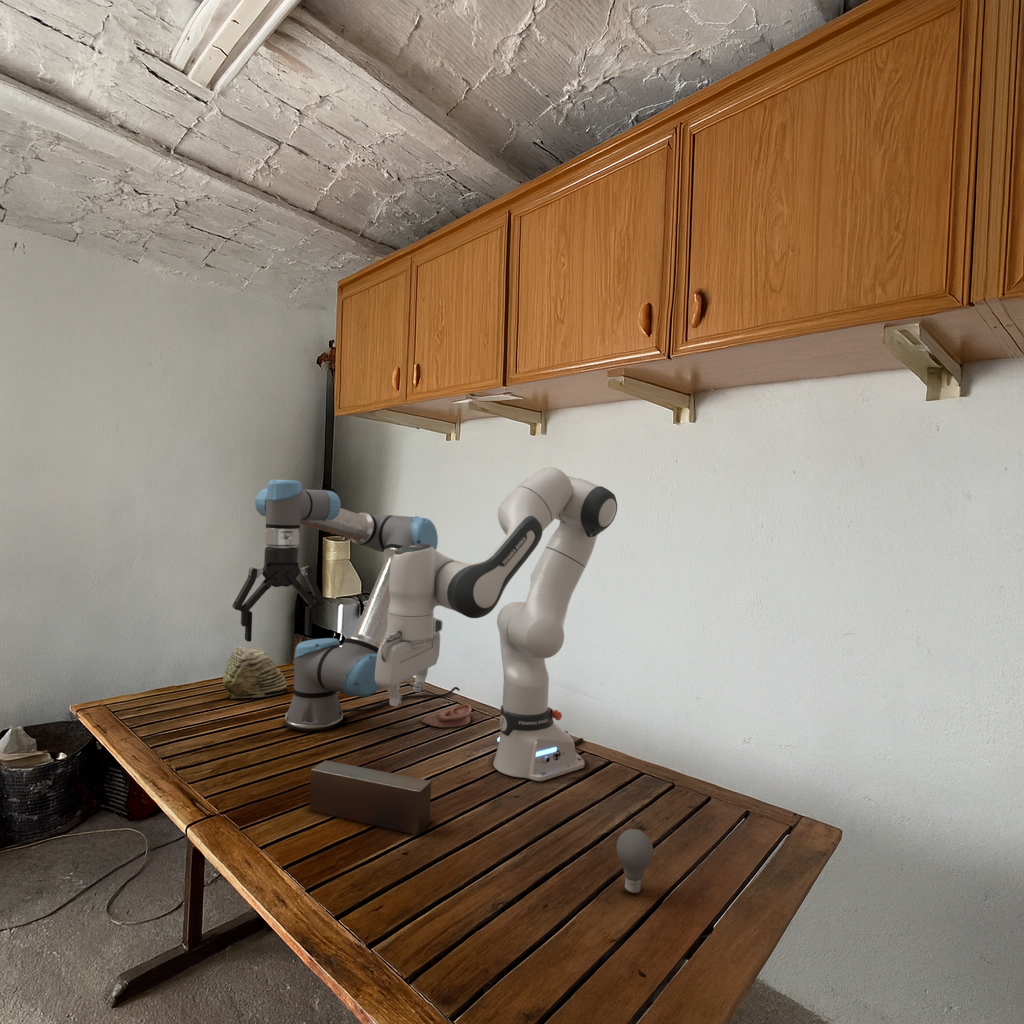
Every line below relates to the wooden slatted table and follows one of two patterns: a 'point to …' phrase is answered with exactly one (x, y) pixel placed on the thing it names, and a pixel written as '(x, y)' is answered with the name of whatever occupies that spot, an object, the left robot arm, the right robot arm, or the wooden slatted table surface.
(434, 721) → the anatomical model
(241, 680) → the fossil
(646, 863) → the light bulb
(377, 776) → the bar
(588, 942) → the wooden slatted table surface
